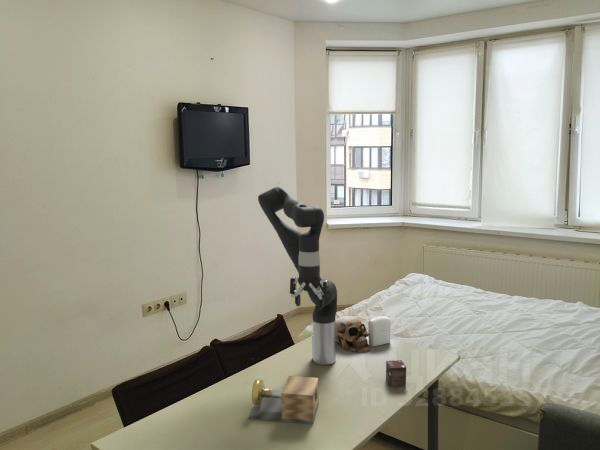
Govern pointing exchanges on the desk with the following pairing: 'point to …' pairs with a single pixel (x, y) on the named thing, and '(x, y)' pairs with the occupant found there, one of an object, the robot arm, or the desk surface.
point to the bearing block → (291, 402)
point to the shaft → (263, 392)
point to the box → (396, 373)
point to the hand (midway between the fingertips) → (309, 307)
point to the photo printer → (379, 331)
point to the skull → (351, 334)
